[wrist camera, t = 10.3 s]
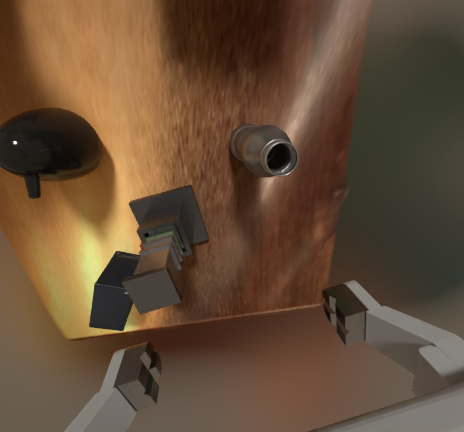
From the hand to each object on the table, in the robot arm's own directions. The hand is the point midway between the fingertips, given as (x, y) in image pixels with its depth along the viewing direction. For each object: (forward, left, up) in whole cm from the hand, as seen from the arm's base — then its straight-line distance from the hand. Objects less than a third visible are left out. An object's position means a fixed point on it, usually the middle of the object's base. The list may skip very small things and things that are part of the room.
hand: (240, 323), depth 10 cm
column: (+8, -10, -29) cm, 32 cm away
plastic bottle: (-3, +8, -35) cm, 36 cm away
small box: (+17, -24, -35) cm, 46 cm away
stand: (+8, -10, -35) cm, 37 cm away
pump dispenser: (-10, -20, -35) cm, 42 cm away
